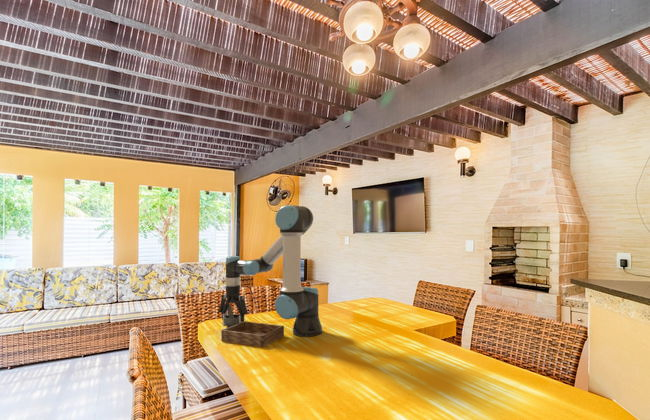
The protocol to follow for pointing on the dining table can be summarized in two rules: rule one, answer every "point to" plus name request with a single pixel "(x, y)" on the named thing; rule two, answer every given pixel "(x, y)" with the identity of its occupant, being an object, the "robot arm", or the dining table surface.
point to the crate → (252, 333)
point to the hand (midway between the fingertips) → (233, 326)
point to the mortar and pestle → (231, 318)
